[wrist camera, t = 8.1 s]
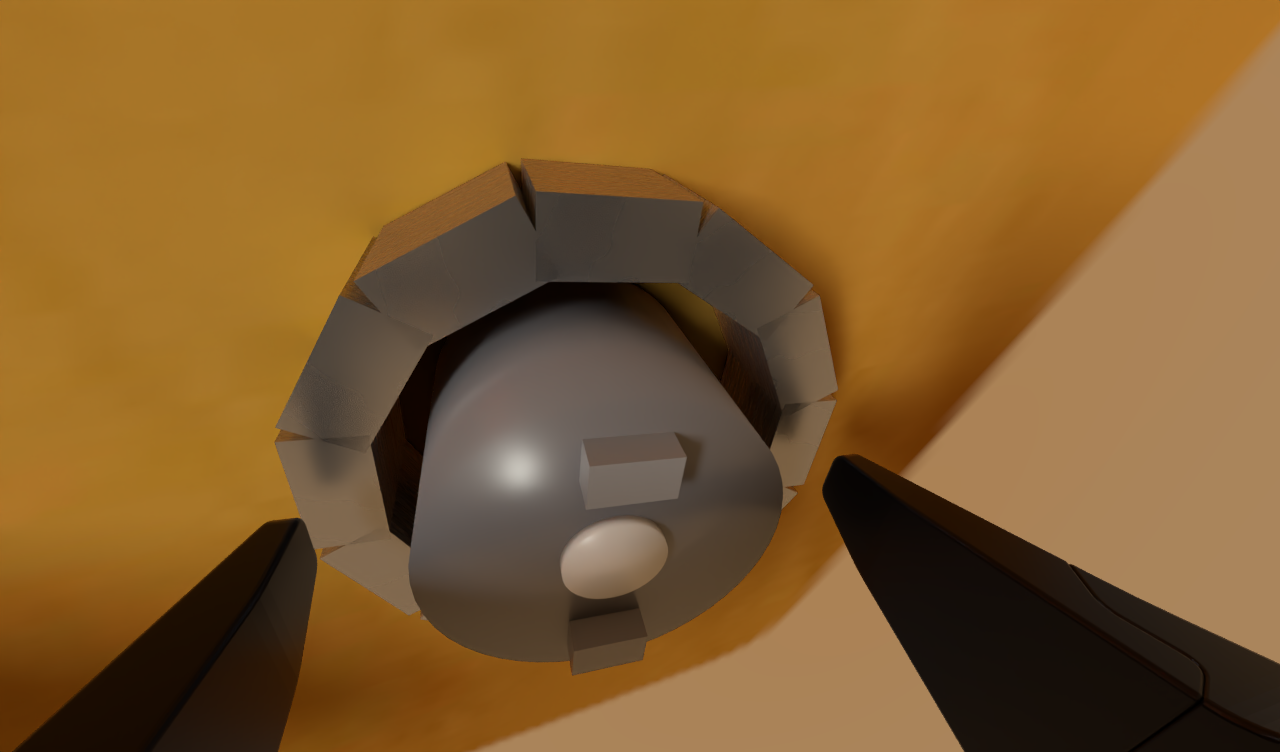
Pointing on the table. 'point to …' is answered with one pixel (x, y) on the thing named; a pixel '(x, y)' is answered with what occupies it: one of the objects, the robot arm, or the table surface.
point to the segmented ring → (500, 273)
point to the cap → (583, 481)
